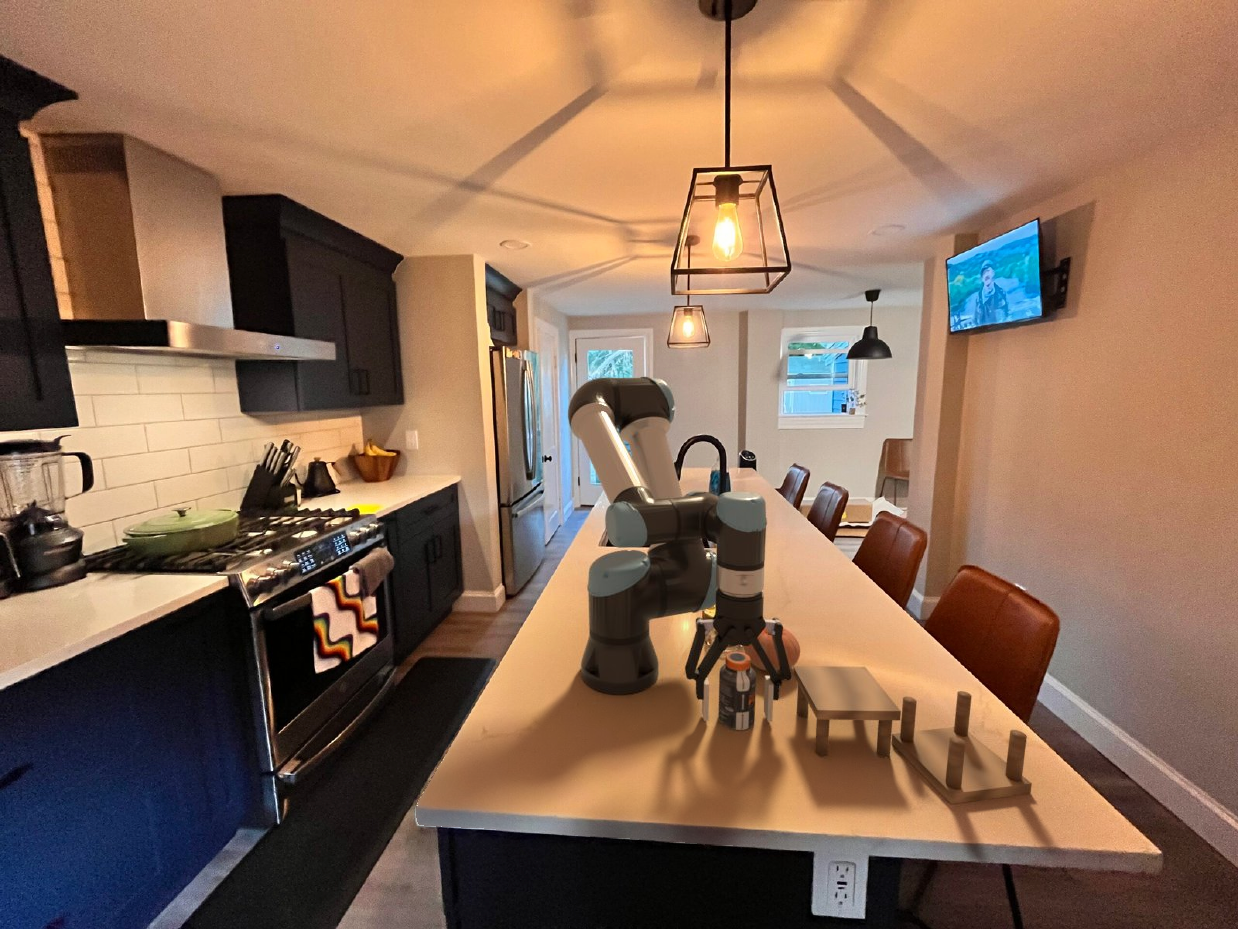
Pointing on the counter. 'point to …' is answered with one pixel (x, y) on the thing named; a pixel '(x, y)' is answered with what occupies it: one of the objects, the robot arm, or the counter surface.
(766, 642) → the mini pumpkin
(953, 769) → the upturned stool
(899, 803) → the counter surface
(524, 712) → the counter surface
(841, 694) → the stool
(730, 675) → the pill bottle
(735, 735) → the counter surface
